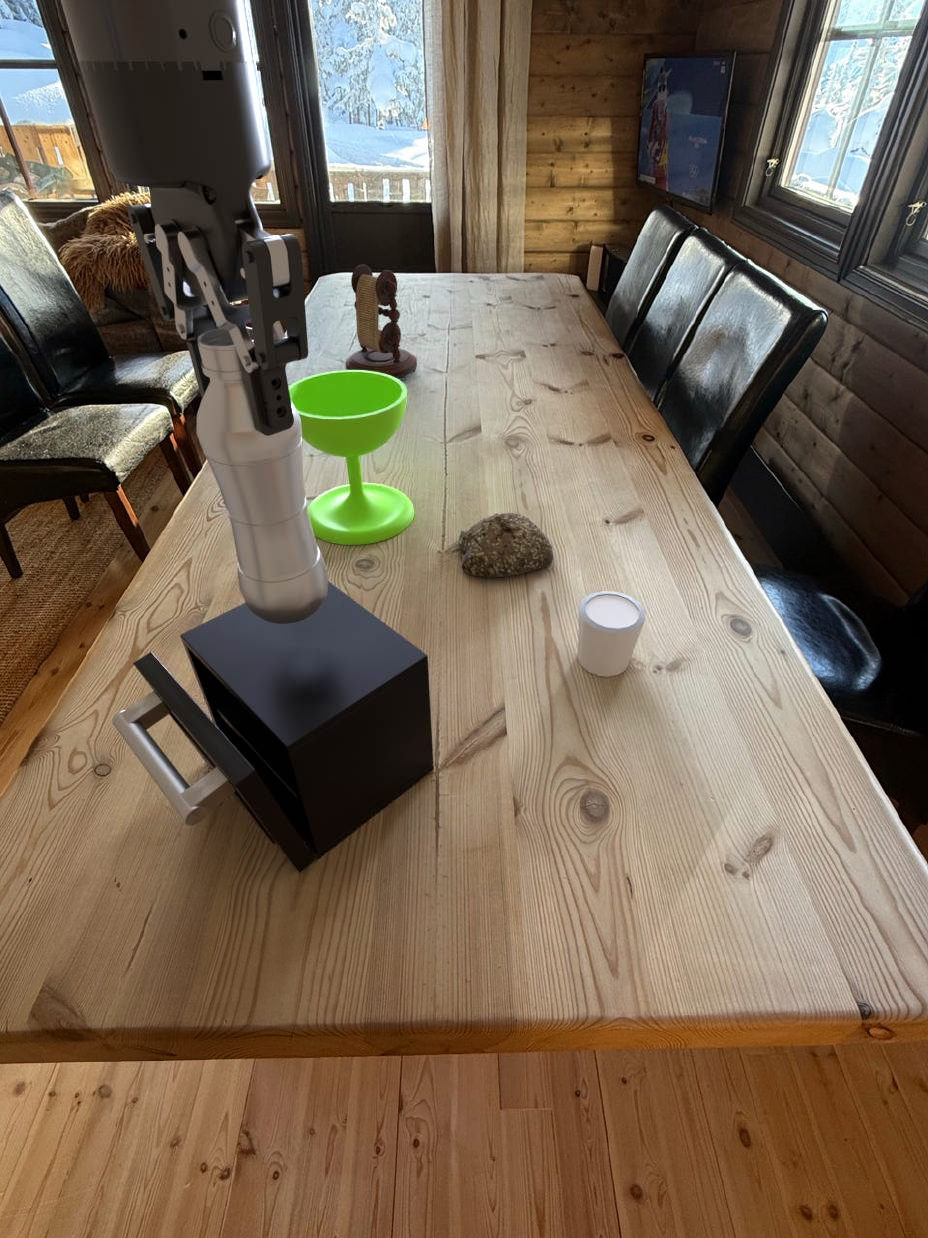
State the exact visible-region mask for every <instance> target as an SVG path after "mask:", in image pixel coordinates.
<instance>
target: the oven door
mask: <svg viewBox="0 0 928 1238" xmlns="http://www.w3.org/2000/svg"><path fill="white" fill-rule="evenodd" d="M132 665H133V666H134V667H135V668H136V670H137V671H138V672H139V673H140V675H141V676H142V678H143V679H144V680H145V681H146V683H147V684H148V686H149V687H150V688H151V689H152V691H151V692H150V693H148V694H147V695H145V696H144V697H142V698H141V699H140V700H138V701H136V702H135V703H133V704H132V705H130V706H129V707H127V708H126V709H123V710H120V711H118V712H117V713H116V714H115V715H114V716H113V717H112V720H111V721H112V722H111V723H112V725H113V726H114V728H115V729H116V731H117V732H118V733H119V735H120V737H122V739H123V740H124V742H125V743H126V744H127V745H128V747H129V748H130V750H131V751H132V753H133V754H134V755H135V756H136V758H137V759H138V761H139V762H140V764H141V765H142V766H143V768H144V769H145V770H146V772H147V773H148V774H149V776H150V777H151V779H152V780H153V781H154V783H155V784H156V786H157V787H158V788H159V790H160V791H161V792H162V794H163V796H165V798H166V799H167V801H168V802H169V803H170V804H171V806H172V807H173V809H174V810H175V812H176V813H177V814H178V815H179V817H180V818H181V820H182V821H183V822H184V824H185V825H187V826H188V827H189V826H190V827H191V826H195V825H198V824H200V823H201V822H202V821H203V820H204V819H205V818H206V816H207V814H209V813H210V812H211V811H212V810H214V809H215V808H217V806H219V805H220V804H221V803H222V802H223V801H225V800H226V799H227V798H229V797H231V795H232V796H233V797H234V799H235V800H236V802H237V803H238V804H239V805H240V806H241V807H242V808H243V810H244V811H245V812H246V813H247V815H248V817H250V818H251V820H252V821H253V822H254V823H255V825H257V827H258V828H259V829H260V831H261V832H262V833H263V834H264V835H265V836H266V838H267V839H268V840H269V842H270V843H271V844H272V846H274V845H275V846H276V848H278V849H279V850H280V852H281V853H282V854H283V855H284V857H285V858H286V859H287V860H288V862H289V863H290V864H291V866H293V868H294V869H295V870H296V872H297V873H299V874H301V873H303V871H305V870H306V869H307V868H308V867H309V866H311V864H313V863H314V862H315V861H316V859H315V857H314V856H313V855H314V854H312V851H311V850H310V849H309V848H308V846H307V845H306V844H305V843H304V842H303V841H302V839H301V838H300V836H299V835H298V833H297V832H296V830H295V829H294V827H293V826H292V824H291V823H290V821H289V820H288V818H287V817H286V815H285V814H284V812H283V811H282V809H281V808H280V806H279V805H278V803H277V802H276V800H275V799H274V797H273V796H272V794H271V793H270V791H269V790H268V788H267V787H266V785H265V784H264V782H263V781H262V779H261V778H260V776H259V775H258V773H257V772H256V770H255V769H254V768H253V767H252V765H251V764H250V763H249V762H248V761H247V760H246V759H245V758H244V756H243V755H242V754H241V753H240V752H239V751H238V750H237V748H236V747H235V746H234V745H233V744H232V743H231V742H230V740H229V739H228V738H227V737H226V736H225V735H224V734H223V733H222V731H221V730H220V729H219V728H218V727H217V726H216V725H215V723H214V722H213V720H212V718H211V717H209V716H208V714H207V713H206V712H205V711H204V710H203V708H202V707H201V706H200V705H199V704H198V703H197V702H196V701H195V700H194V698H193V697H192V696H191V695H190V694H189V693H188V691H187V690H186V689H185V688H184V687H183V686H182V684H181V683H179V681H178V680H177V679H176V678H175V677H174V676H173V675H172V674H171V672H170V671H169V670H168V669H167V668H166V667H165V665H164V664H163V663H162V662H161V661H160V659H159V658H158V657H157V656H156V655H155V654H154V653H153V651H150V652H148V653H146V654H145V655H144V656H142V657H140V658H138V659H137V660H135V661H134V662H133V663H132ZM167 716H170V718H171V719H172V721H174V723H175V724H176V725H177V727H178V728H179V729H180V731H181V732H182V733H183V735H184V736H185V738H187V740H188V741H189V743H190V744H191V745H192V746H193V748H194V749H195V750H196V752H197V753H198V754H199V755H200V757H201V758H202V760H203V761H204V763H205V764H207V766H208V768H210V771H209V772H207V773H206V774H205V775H204V776H202V777H201V778H200V779H198V780H197V781H196V782H194V783H193V784H192V785H190V784H189V783H188V782H187V781H186V780H185V779H184V777H183V775H182V774H181V773H180V772H179V770H178V769H177V768H176V767H175V765H174V764H173V763H172V761H171V760H170V758H169V757H168V756H167V755H166V754H165V752H164V751H163V750H162V748H161V747H160V746H159V744H158V743H157V742H156V740H155V739H154V738H153V737H152V734H150V733H149V732H148V731H147V730H149V729H150V728H152V727H153V726H154V725H156V724H157V723H159V722H160V721H162V720H163V719H164V718H166V717H167Z"/></svg>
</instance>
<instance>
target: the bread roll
mask: <svg viewBox="0 0 928 1238" xmlns="http://www.w3.org/2000/svg"><path fill="white" fill-rule="evenodd" d="M550 542H551V541H550V539H549V538H547V536H546V535H545V532H543V531H542V530H541V528H539V527H538V525H536V524H535V523H534V522H532V520H530V518H528V517H527V516H524V515H521V514H519V513H516V512H503V513H494V514H492V515H489V516H488V517H484V518H483V519H481V520H479V521H478V522H476V523H475V524H473V525H472V526H471V527H469V530H460V535H459V536H458V542H457V544H458V547H457V552H458V554H459V555H460V557H461V569H462V570H464V572H466V573H468V574H469V575H471V576H473V577H486V578H489V577H491V578H492V577H498V578H502V577H503V578H504V577H510V576H516V575H518V576H519V575H522V574H527V573H528V572H531V571H535V570H541V569H544V568H547V567H549V566H550V565H551V564H552V563H553V560H554V552H553V545H551V543H550Z"/></svg>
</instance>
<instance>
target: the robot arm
mask: <svg viewBox="0 0 928 1238" xmlns="http://www.w3.org/2000/svg"><path fill="white" fill-rule="evenodd" d="M60 3H61V6H62V10H63V13H64V16H65V17H64V18H65V20H66V24H67V27H68V30H69V34H70V37H71V40H72V41H71V42H72V44H73V47H74V52H75V54H76V58H77V61H78V62H77V63H78V64H79V68H80V72H81V75H82V79H83V82H84V86H85V89H86V92H87V96H88V99H89V102H90V103H89V104H90V107H91V110H92V113H93V116H94V120H95V124H96V127H97V130H98V134H99V137H100V141H101V144H102V147H103V151H104V154H105V155H104V156H105V157H106V160H107V164H108V168H109V170H110V172H111V174H112V175H113V176H114V178H116V180H118V181H120V182H121V183H124V184H127V185H130V186H134V187H142V188H148V192H149V196H150V197H149V199H150V202H149V203H143V204H142V203H141V204H135V205H129V206H127V214H128V219H129V222H130V224H131V228H132V230H133V233H134V237H135V240H136V243H137V245H138V246H137V247H138V249H139V252H140V254H141V258H142V260H143V263H144V267H145V270H146V272H147V275H148V278H149V282H150V285H151V288H152V290H153V294H154V297H155V299H156V302H157V306H158V308H159V312H160V314H161V316H162V318H163V319H164V320H165V322H173V321H174V322H175V329H176V331H177V333H178V335H179V336H180V338H181V339H182V340H184V341H186V345H187V349H188V352H189V356H190V360H191V364H192V368H193V371H194V375H195V379H196V383H197V386H198V390H199V395H200V396H201V399H202V398H203V396H204V394H205V392H206V390H207V388H208V385H209V383H210V377H207V376H206V375H205V374H204V373H203V370H202V366H201V362H202V359H201V355H200V351H199V347H198V341H197V338H198V337H199V336H200V335H201V334H203V333H205V332H207V331H210V330H213V329H218V328H221V329H224V330H226V331H228V332H229V333H230V335H231V338H232V340H233V343H234V345H235V348H236V350H237V353H238V355H239V358H240V360H241V362H242V365H243V367H244V368H245V370H243V374H244V379H245V383H246V388H247V393H248V397H249V402H250V406H251V411H252V416H253V420H254V425H255V428H256V430H257V431H259V432H261V433H262V434H264V435H266V436H270V435H273V434H276V433H279V432H281V431H284V430H287V429H289V428H291V427H292V426H293V423H294V416H293V410H292V405H291V399H290V393H289V381H288V376H287V372H286V371H287V369H286V368H287V365H288V364H291V363H293V362H296V361H297V362H298V361H302V360H305V359H307V358H308V357H309V343H308V341H309V340H308V328H307V327H308V326H307V315H306V314H307V313H306V300H305V298H306V297H305V285H304V271H303V256H302V255H303V254H302V247H301V244H300V242H299V240H298V238H297V237H296V236H295V235H294V234H292V233H290V234H284V235H272V234H270V233H269V232H267V231H265V230H264V227H263V224H262V221H261V218H260V216H259V214H258V211H257V207H256V205H255V202H254V198H253V195H252V192H251V189H252V186H253V184H254V182H255V181H256V180H261V179H263V178H265V177H267V175H268V174H269V173H270V171H271V168H272V160H271V153H270V146H269V141H268V134H267V128H266V127H267V126H266V121H265V115H264V109H263V102H262V101H263V100H262V95H261V89H260V82H259V76H258V75H259V74H258V69H257V63H256V58H255V57H256V56H255V49H254V44H253V37H252V31H251V25H250V18H249V12H248V5H247V0H60ZM246 300H248V303H246V304H243V305H233V304H231V303H236V302H241V301H246ZM284 320H285V329H286V334H285V331H284V329H283V327H282V324H281V321H284ZM247 324H248V325H249V324H251V328H252V333H253V340H254V345H253V343H252V340H251V338H250V335H249V333H248V330H247V328H246V327H247Z"/></svg>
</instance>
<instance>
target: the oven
mask: <svg viewBox="0 0 928 1238" xmlns="http://www.w3.org/2000/svg"><path fill="white" fill-rule="evenodd" d="M179 637H180V639H181V642H182V644H183V647H184V650H185V653H186V656H187V658H188V660H189V663H190V665H191V668H192V671H193V673H194V676H195V678H196V681H197V684H198V686H199V690H200V691H201V694H202V697H203V699H204V702H205V705H206V708H207V710H208V712H209V715H210V718H211V720H212V721H213V722H214V723H215V725H216V726H217V727H218V728H219V729H220V730H221V731H222V733H223V734H224V735H225V736H226V737H227V738H228V739H229V740H230V742H231V743H232V744H233V745H234V746H235V747H236V748H237V750H238V751H239V752H240V753H241V754H242V755H243V756H244V758H245V759H246V760H247V761H248V762H249V763H250V764H251V765H252V767H253V768H254V769H255V770H256V772H257V773H258V775H259V776H260V778H261V779H262V781H263V782H264V784H265V785H266V787H267V788H268V790H269V791H270V793H271V794H272V796H273V797H274V799H275V800H276V802H277V803H278V805H279V806H280V808H281V809H282V811H283V812H284V814H285V815H286V817H287V818H288V820H289V821H290V823H291V824H292V826H293V827H294V829H295V830H296V832H297V833H298V835H299V836H300V838H301V839H302V841H303V842H304V844H305V845H306V847H307V848H308V850H309V851H310V852H311V853H313V855H314V856H315V857H316V858H317V859H318V860H320V859H321V858H322V857H324V856H325V855H326V854H327V853H329V852H330V851H331V850H333V849H334V848H335V847H337V846H338V845H339V844H340V843H341V842H343V841H344V840H346V839H347V838H348V837H349V836H351V835H352V834H353V833H355V831H357V830H359V829H360V828H361V827H362V826H364V825H365V824H366V823H368V822H369V821H370V820H371V819H373V818H374V817H375V816H377V815H378V814H379V813H381V811H383V810H384V809H386V808H387V807H389V805H390V804H392V803H393V802H394V801H396V800H397V799H398V798H400V797H401V796H402V795H403V794H405V793H406V792H407V791H408V790H410V789H411V788H412V787H414V786H415V785H416V784H418V783H419V782H420V781H422V780H423V779H424V778H426V777H427V776H428V775H429V774H431V773H432V772H433V771H434V769H435V768H434V767H435V766H434V749H433V748H434V747H433V729H432V709H431V693H430V691H431V689H430V674H429V671H430V670H429V656H428V654H426V653H425V652H424V651H422V650H421V649H420V648H419V647H418V646H416V645H414V643H412V642H410V641H409V640H408V639H406V638H405V637H404V636H403V635H401V634H400V633H398V632H397V631H396V630H394V629H393V628H392V627H390V625H388V624H386V623H385V622H384V621H382V620H381V619H380V618H378V617H377V616H376V615H375V614H373V613H372V612H370V611H369V610H368V609H367V608H366V607H364V606H363V605H362V604H360V603H359V602H357V601H356V600H354V598H352V597H351V596H349V595H347V594H346V593H345V592H344V591H342V590H341V589H340V588H339V587H337V586H336V585H335V584H333V583H332V582H331V581H329V580H328V591H327V596H326V598H325V600H324V602H323V603H322V605H321V606H320V608H319V609H318V610H317V611H316V612H315V613H314V614H313V615H311V616H310V617H308V618H306V619H304V620H301V621H298V622H294V623H289V624H277V623H271V622H268V621H265V620H263V619H262V618H260V617H258V616H257V615H255V614H254V613H253V612H251V610H250V609H249V608H248V606H247V604H246V602H245V601H244V602H243V603H241V604H239V605H237V606H235V607H234V608H231V609H229V610H227V611H225V612H224V613H221V614H219V615H217V616H216V617H214V618H211V619H209V620H207V621H205V622H204V623H201V624H199V625H197V626H196V627H193V628H191V629H189V630H187V631H185V632H183V633H181V634H180V636H179Z"/></svg>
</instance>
